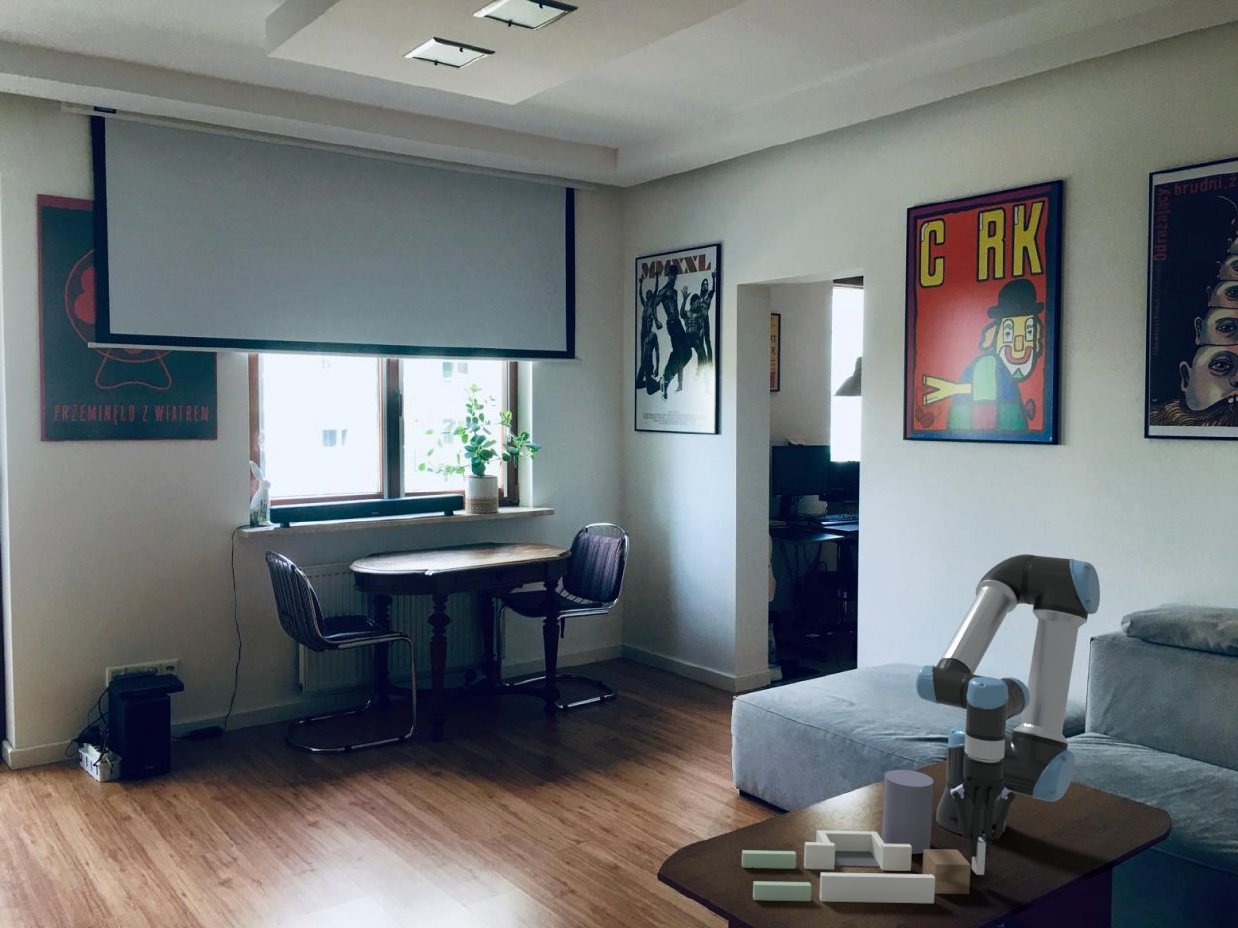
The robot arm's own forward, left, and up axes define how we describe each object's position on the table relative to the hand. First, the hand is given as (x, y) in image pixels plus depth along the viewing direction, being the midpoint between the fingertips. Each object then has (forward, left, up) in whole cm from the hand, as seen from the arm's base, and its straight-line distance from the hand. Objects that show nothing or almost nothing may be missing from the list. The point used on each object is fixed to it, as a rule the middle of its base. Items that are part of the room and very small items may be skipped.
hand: (977, 871), depth 206 cm
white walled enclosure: (+22, -4, -3) cm, 23 cm away
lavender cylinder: (+8, -19, -3) cm, 21 cm away
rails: (+41, 0, -3) cm, 41 cm away
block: (+6, 0, -3) cm, 7 cm away
